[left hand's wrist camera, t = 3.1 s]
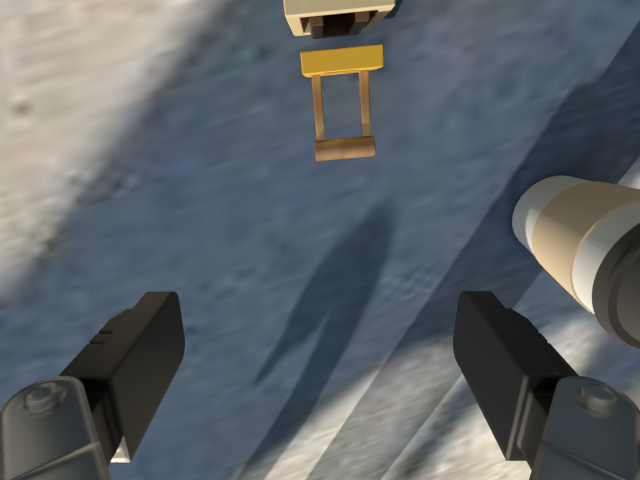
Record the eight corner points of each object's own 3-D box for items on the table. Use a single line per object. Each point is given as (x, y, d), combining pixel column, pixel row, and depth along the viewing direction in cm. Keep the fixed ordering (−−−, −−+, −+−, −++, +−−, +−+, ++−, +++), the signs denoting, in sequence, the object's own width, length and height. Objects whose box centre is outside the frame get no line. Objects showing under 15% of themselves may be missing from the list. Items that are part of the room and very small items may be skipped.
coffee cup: (624, 216, 34) (835, 305, 20) (535, 280, 37) (669, 399, 23) (571, 138, 32) (768, 179, 18) (478, 212, 34) (590, 298, 20)
